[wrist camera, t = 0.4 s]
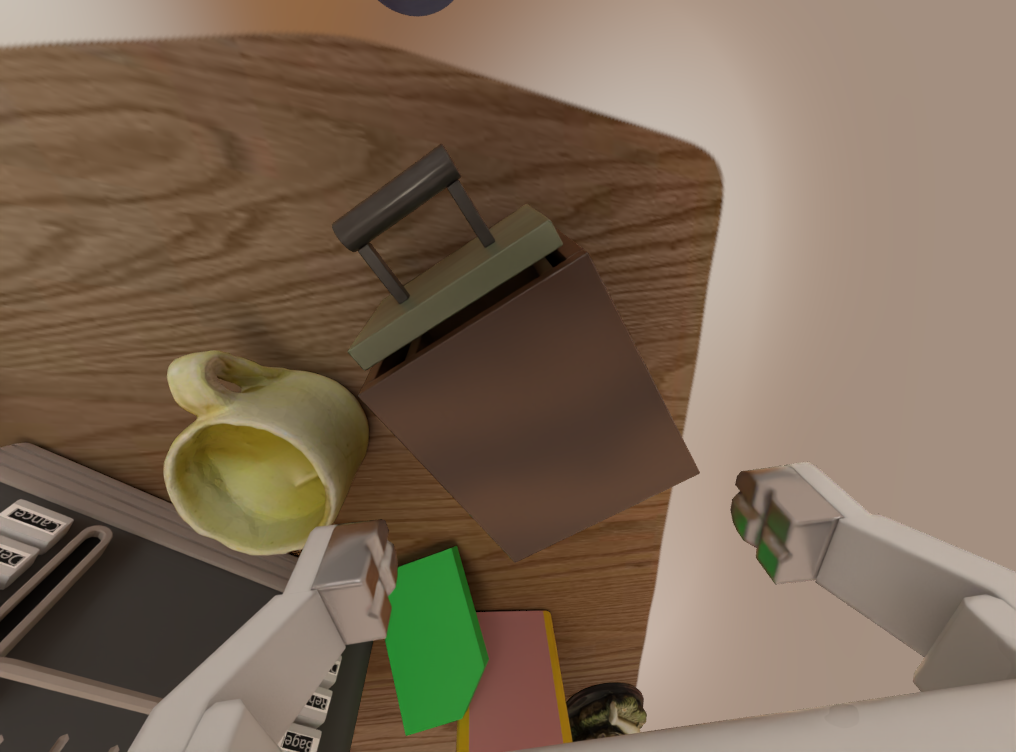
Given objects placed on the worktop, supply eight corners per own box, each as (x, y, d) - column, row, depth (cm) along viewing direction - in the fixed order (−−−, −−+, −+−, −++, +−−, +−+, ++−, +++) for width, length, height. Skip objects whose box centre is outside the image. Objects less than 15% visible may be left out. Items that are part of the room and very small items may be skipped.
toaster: (419, 570, 37) (381, 855, 22) (241, 738, 48) (132, 1008, 33) (35, 389, 27) (-559, 693, 11) (-82, 656, 38) (-467, 997, 22)
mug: (409, 486, 30) (316, 589, 21) (295, 476, 33) (170, 564, 24) (383, 322, 27) (259, 361, 18) (259, 326, 30) (96, 362, 21)
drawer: (328, 234, 23) (266, 264, 16) (483, 122, 21) (487, 101, 14) (491, 438, 30) (497, 519, 23) (618, 368, 28) (664, 433, 22)
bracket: (451, 548, 35) (475, 537, 41) (371, 577, 36) (406, 561, 42) (496, 708, 31) (514, 669, 38) (405, 735, 32) (438, 692, 39)
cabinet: (394, 322, 27) (356, 396, 18) (548, 222, 25) (587, 252, 16) (504, 459, 32) (515, 563, 24) (637, 387, 30) (700, 473, 22)
